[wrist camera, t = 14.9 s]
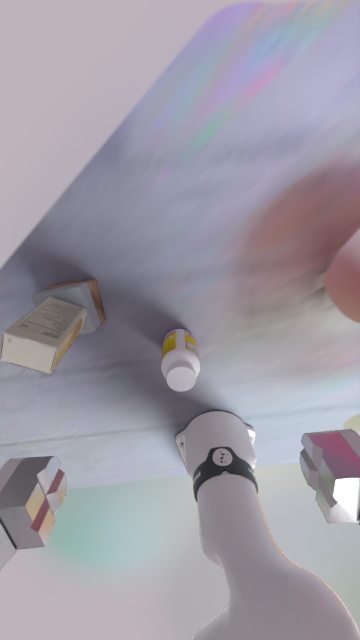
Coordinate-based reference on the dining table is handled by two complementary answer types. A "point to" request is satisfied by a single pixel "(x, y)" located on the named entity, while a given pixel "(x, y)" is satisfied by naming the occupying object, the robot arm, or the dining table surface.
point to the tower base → (94, 294)
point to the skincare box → (42, 335)
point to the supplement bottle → (180, 360)
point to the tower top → (74, 302)
